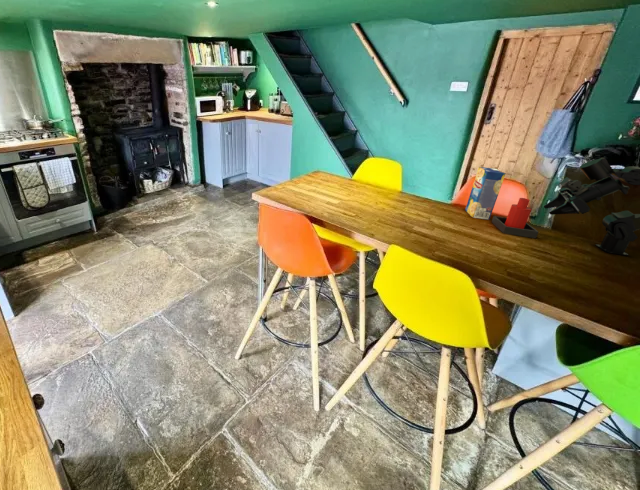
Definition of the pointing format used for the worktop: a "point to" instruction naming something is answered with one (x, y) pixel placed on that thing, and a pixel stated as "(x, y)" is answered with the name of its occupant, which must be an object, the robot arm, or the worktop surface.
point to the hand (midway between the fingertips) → (546, 210)
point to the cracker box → (484, 192)
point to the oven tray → (525, 232)
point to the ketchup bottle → (518, 214)
